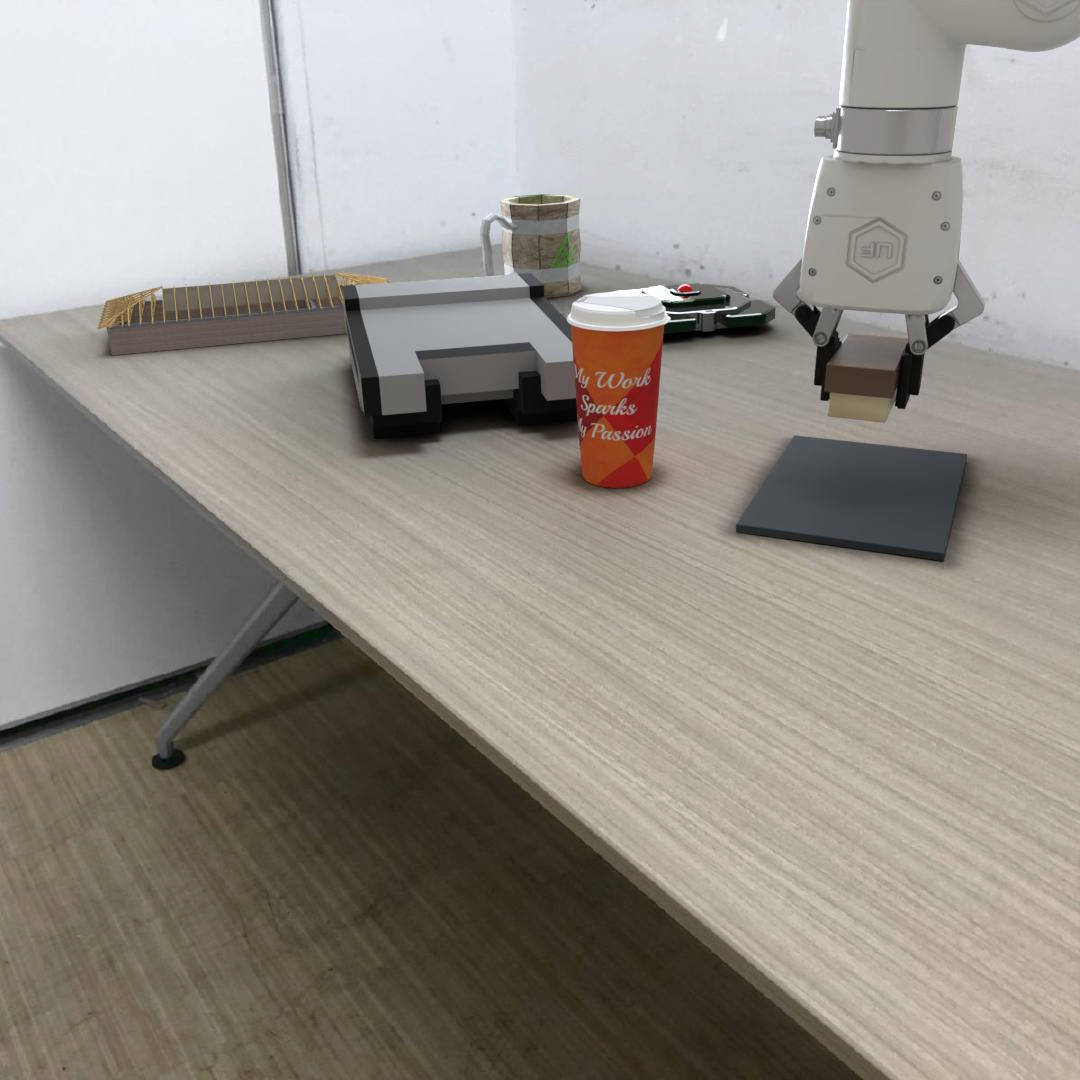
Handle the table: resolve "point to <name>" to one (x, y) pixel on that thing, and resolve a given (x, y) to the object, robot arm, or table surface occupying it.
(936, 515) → the mat
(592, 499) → the table surface
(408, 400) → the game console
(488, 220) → the mug
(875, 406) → the scrubber
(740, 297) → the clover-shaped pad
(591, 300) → the paper cup
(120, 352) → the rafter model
